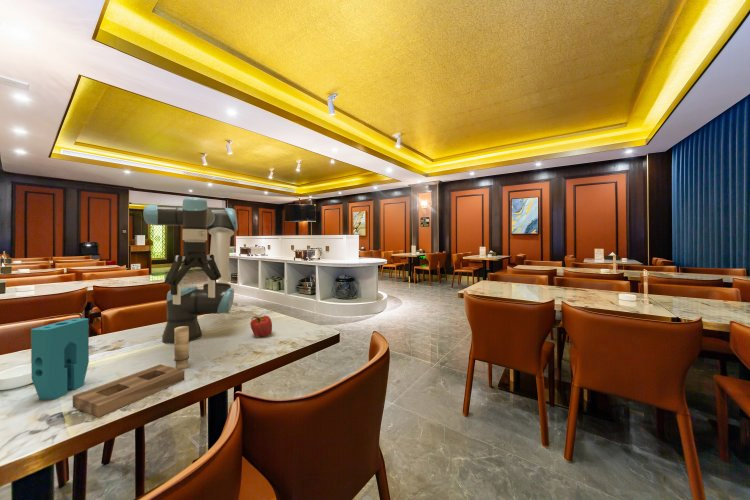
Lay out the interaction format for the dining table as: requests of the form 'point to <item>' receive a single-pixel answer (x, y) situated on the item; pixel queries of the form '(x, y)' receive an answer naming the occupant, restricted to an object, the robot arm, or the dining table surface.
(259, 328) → the red apple
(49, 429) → the dining table surface
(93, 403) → the board
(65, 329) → the block
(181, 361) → the peg
